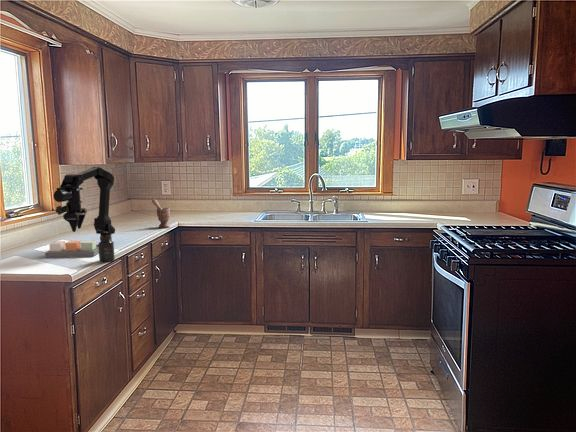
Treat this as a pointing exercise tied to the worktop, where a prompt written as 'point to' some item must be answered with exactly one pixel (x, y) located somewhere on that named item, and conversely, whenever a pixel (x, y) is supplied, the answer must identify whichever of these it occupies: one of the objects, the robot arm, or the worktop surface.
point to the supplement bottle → (106, 249)
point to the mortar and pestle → (162, 215)
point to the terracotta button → (73, 245)
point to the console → (72, 253)
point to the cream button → (57, 246)
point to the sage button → (88, 245)
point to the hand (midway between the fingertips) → (76, 230)
